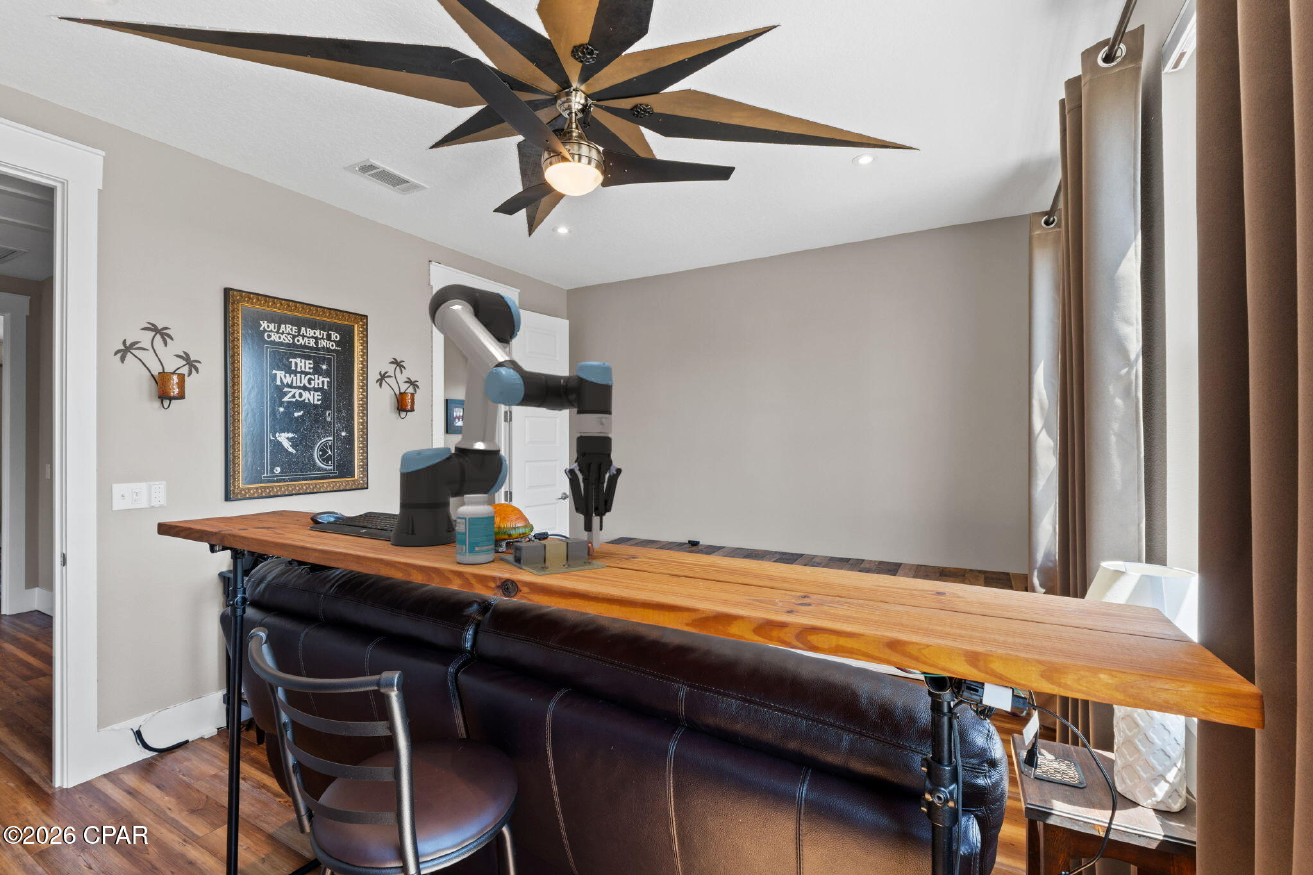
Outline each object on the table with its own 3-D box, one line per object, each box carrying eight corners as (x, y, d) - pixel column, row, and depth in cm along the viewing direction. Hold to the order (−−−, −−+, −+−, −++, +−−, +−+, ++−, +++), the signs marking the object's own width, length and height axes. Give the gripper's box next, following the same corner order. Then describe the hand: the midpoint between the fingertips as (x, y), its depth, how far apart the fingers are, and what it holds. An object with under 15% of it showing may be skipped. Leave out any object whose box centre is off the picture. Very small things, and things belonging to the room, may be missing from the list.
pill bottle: (499, 558, 121) (500, 493, 121) (486, 565, 113) (486, 496, 114) (465, 557, 121) (466, 493, 122) (449, 564, 114) (450, 495, 115)
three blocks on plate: (499, 558, 120) (499, 538, 120) (560, 552, 128) (560, 533, 128) (538, 575, 104) (539, 551, 104) (606, 567, 112) (606, 545, 112)
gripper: (574, 434, 116) (573, 552, 115) (629, 435, 123) (628, 546, 123) (558, 435, 122) (557, 547, 121) (611, 436, 129) (610, 542, 129)
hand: (593, 547), depth 122 cm, fingers closed
